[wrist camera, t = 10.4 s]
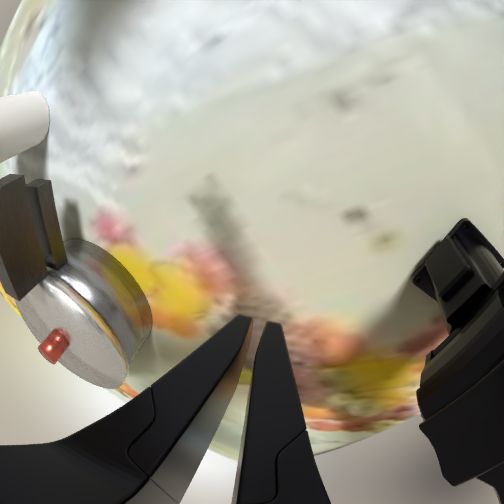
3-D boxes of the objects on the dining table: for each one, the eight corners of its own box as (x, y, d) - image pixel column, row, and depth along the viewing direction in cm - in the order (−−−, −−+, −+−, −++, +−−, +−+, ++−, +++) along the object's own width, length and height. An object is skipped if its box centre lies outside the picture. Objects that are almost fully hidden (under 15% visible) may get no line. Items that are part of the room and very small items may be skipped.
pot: (135, 171, 21) (84, 199, 16) (164, 373, 36) (145, 408, 31) (30, 163, 23) (-11, 184, 18) (80, 337, 38) (59, 364, 33)
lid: (84, 178, 15) (32, 207, 12) (142, 398, 29) (126, 427, 25) (-18, 171, 18) (-50, 189, 14) (47, 349, 31) (31, 370, 27)
